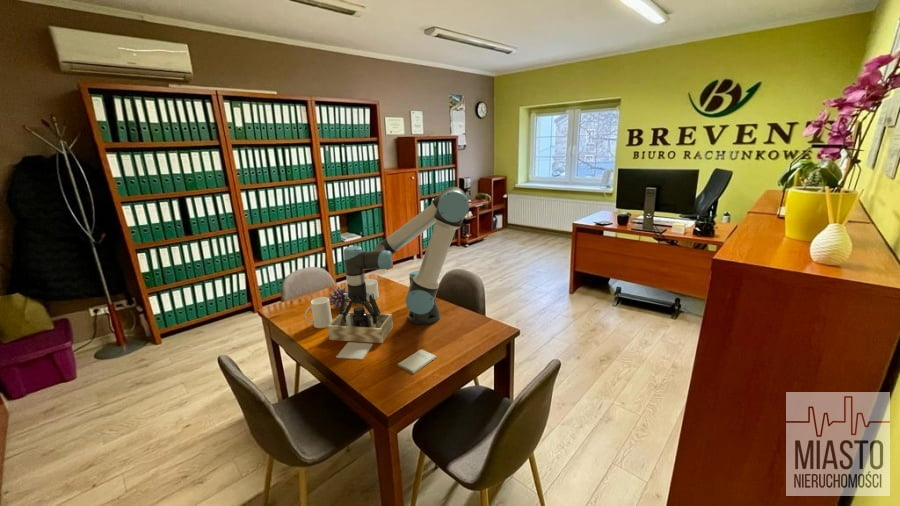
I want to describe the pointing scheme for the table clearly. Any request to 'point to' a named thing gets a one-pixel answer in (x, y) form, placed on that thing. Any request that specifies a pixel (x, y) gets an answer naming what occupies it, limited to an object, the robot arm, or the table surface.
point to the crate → (360, 329)
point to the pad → (354, 350)
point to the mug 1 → (320, 312)
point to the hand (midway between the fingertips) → (361, 329)
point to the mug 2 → (372, 288)
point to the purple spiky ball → (338, 297)
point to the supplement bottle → (360, 317)
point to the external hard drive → (416, 361)
